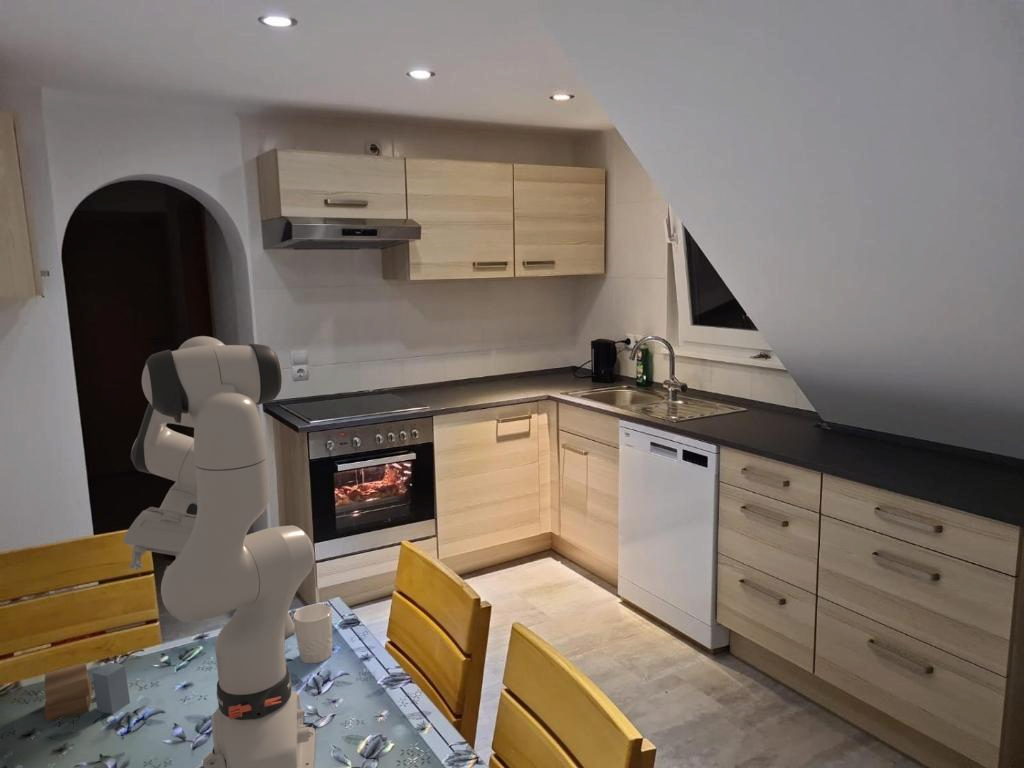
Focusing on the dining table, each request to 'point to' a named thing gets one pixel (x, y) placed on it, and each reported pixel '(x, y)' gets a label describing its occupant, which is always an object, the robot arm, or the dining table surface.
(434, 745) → the dining table surface
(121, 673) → the pillar
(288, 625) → the flask
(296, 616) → the white cup
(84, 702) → the tower base
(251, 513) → the robot arm
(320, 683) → the dining table surface
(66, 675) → the tower top
